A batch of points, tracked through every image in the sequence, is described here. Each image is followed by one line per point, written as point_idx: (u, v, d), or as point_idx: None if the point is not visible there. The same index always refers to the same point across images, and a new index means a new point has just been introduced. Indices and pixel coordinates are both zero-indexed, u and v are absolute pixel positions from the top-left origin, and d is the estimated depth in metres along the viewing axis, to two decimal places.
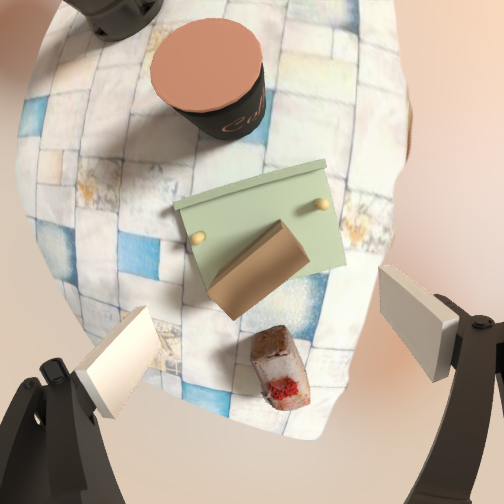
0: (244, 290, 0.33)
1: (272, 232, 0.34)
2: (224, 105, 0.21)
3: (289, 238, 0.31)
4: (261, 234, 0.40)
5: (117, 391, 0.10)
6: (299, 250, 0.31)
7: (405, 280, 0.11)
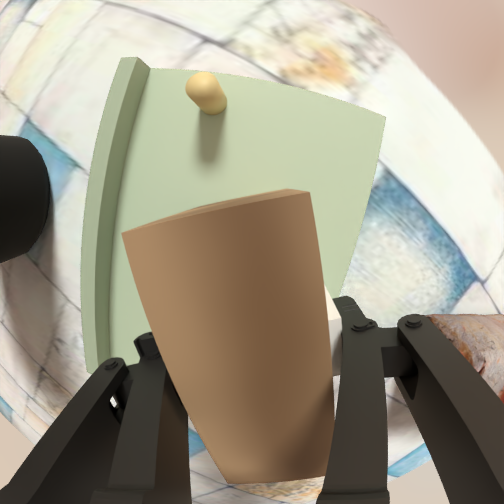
0: (274, 439, 0.08)
1: None
2: None
3: (165, 228, 0.07)
4: None
5: None
6: (235, 213, 0.07)
7: None
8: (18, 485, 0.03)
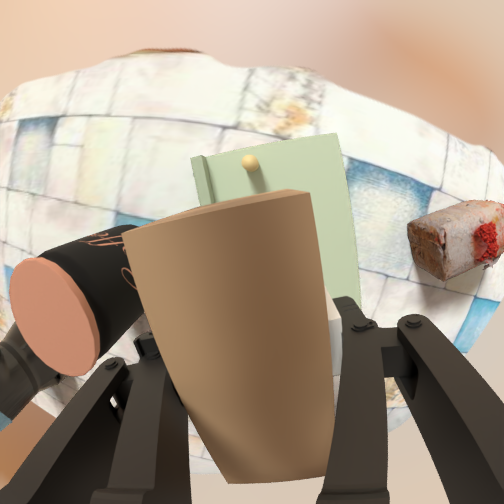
0: (274, 439, 0.08)
1: None
2: (86, 311, 0.17)
3: (166, 228, 0.07)
4: None
5: None
6: (235, 213, 0.07)
7: None
8: (18, 485, 0.03)
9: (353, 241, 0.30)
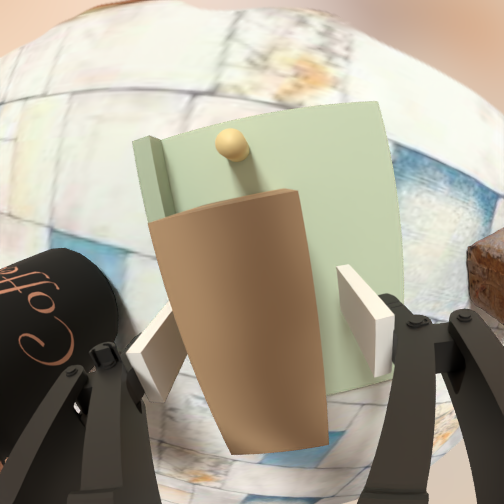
0: (273, 404, 0.10)
1: None
2: None
3: (185, 219, 0.09)
4: None
5: (165, 374, 0.11)
6: (240, 207, 0.08)
7: (355, 279, 0.12)
8: (0, 491, 0.02)
9: (400, 277, 0.18)
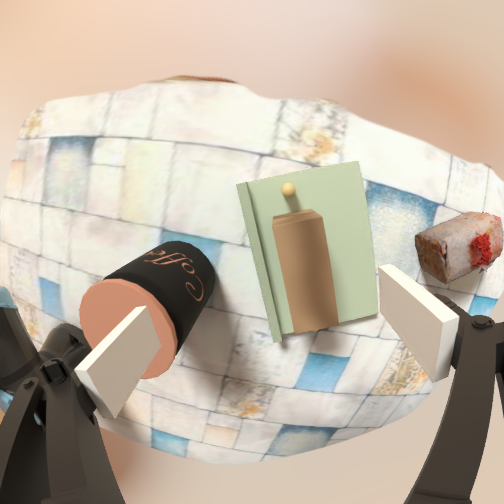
0: (314, 298, 0.28)
1: None
2: (169, 322, 0.22)
3: (286, 225, 0.27)
4: None
5: (117, 391, 0.10)
6: (304, 222, 0.26)
7: (405, 280, 0.11)
8: None
9: (371, 252, 0.35)
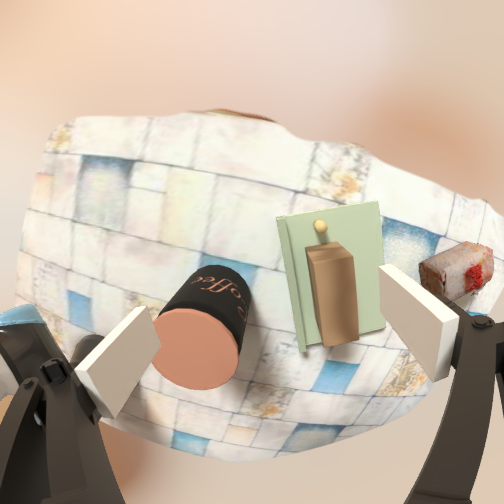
0: (342, 319, 0.34)
1: (311, 268, 0.35)
2: (235, 344, 0.28)
3: (324, 262, 0.32)
4: (308, 269, 0.42)
5: (117, 391, 0.10)
6: (339, 260, 0.32)
7: (405, 280, 0.11)
8: None
9: None
